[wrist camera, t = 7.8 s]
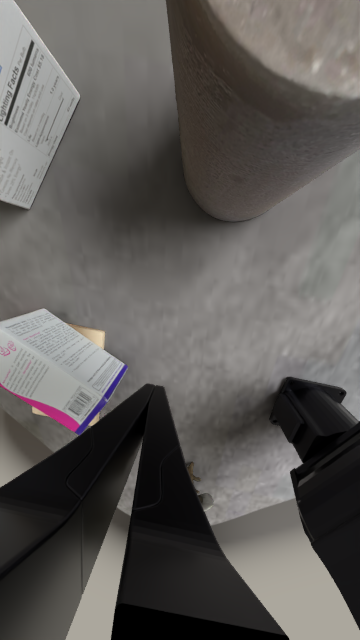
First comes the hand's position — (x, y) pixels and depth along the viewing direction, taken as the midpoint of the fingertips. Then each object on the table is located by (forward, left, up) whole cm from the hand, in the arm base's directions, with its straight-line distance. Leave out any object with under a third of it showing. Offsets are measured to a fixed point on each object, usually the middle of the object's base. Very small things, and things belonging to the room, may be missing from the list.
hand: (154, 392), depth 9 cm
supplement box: (+6, +9, -9) cm, 14 cm away
